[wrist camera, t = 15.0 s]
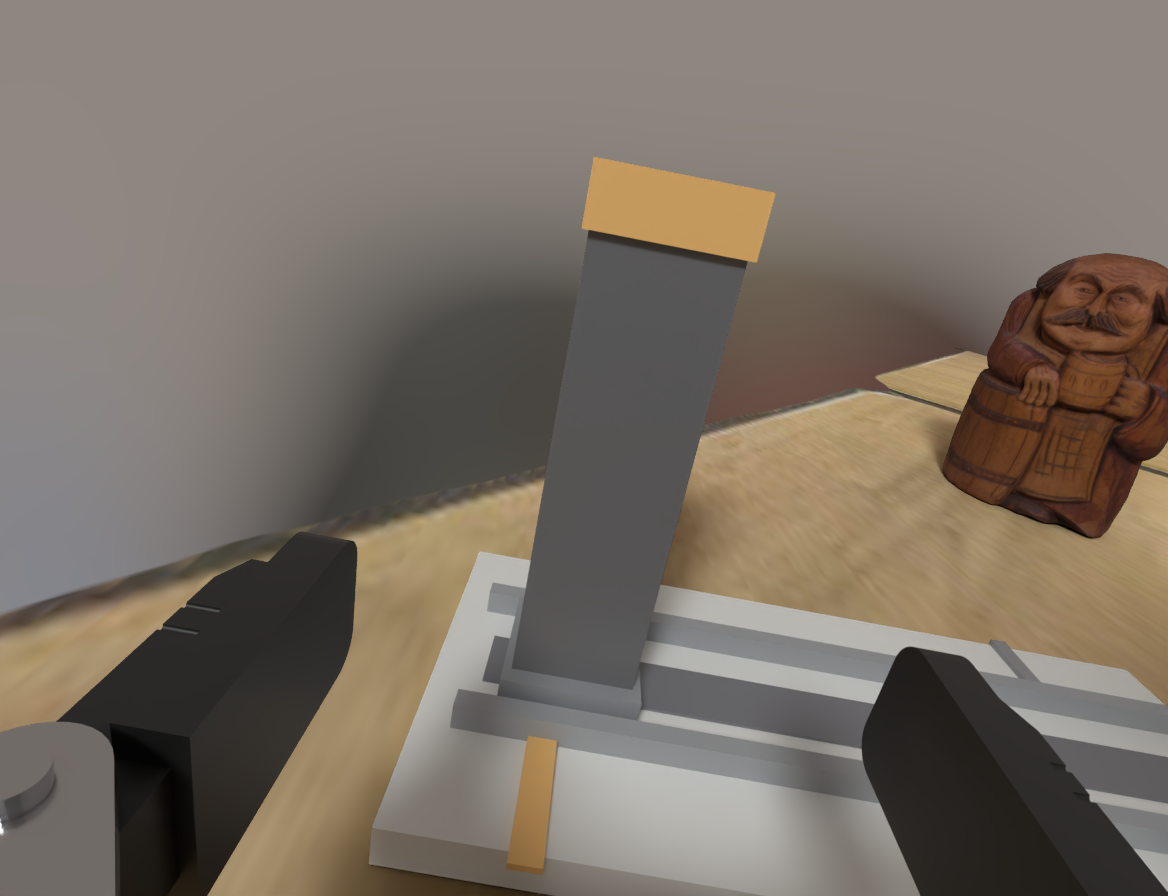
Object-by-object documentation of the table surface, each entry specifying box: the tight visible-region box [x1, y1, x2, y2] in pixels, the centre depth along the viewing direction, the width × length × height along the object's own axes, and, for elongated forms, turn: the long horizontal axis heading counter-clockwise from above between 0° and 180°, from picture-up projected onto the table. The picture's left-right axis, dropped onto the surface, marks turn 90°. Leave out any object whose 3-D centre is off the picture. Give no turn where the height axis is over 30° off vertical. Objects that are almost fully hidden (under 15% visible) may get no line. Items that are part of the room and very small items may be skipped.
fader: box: [497, 157, 775, 720], centre depth 17 cm, size 4×4×14 cm
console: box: [369, 551, 1168, 896], centre depth 20 cm, size 27×13×2 cm, turn 87°
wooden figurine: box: [943, 253, 1168, 538], centre depth 44 cm, size 12×6×18 cm, turn 49°
